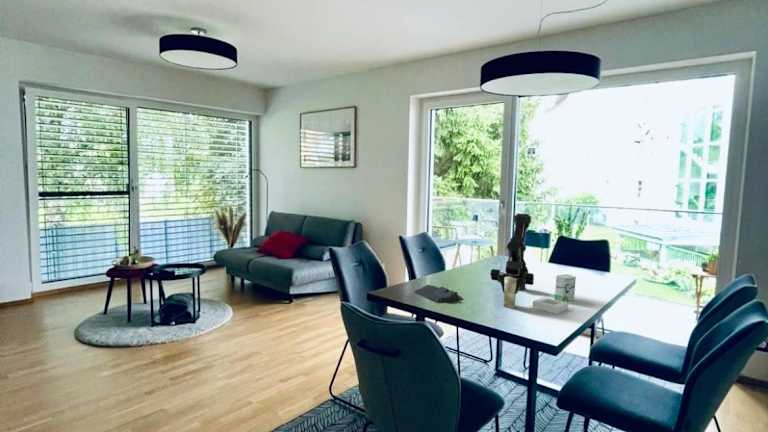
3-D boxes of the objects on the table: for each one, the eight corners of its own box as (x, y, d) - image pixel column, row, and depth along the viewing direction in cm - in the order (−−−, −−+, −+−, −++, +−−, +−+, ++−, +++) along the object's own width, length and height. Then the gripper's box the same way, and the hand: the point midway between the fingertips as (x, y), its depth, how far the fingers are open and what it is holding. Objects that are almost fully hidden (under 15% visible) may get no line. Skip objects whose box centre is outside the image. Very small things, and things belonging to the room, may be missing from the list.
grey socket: (532, 307, 191) (532, 301, 191) (544, 303, 198) (544, 297, 198) (556, 314, 183) (556, 307, 182) (567, 309, 190) (568, 302, 190)
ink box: (562, 302, 201) (564, 277, 200) (553, 299, 205) (555, 275, 204) (574, 300, 205) (576, 276, 204) (565, 297, 209) (567, 273, 208)
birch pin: (501, 305, 192) (502, 277, 191) (507, 303, 195) (508, 276, 194) (510, 308, 188) (512, 279, 187) (517, 306, 192) (518, 278, 190)
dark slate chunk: (435, 289, 218) (436, 280, 217) (465, 301, 199) (465, 291, 199) (411, 293, 210) (411, 283, 209) (439, 305, 191) (440, 295, 191)
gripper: (492, 251, 197) (486, 280, 188) (535, 255, 189) (531, 285, 180) (493, 265, 205) (488, 293, 196) (535, 269, 197) (531, 299, 188)
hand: (509, 292), depth 190 cm, fingers closed on birch pin, 5 cm apart
